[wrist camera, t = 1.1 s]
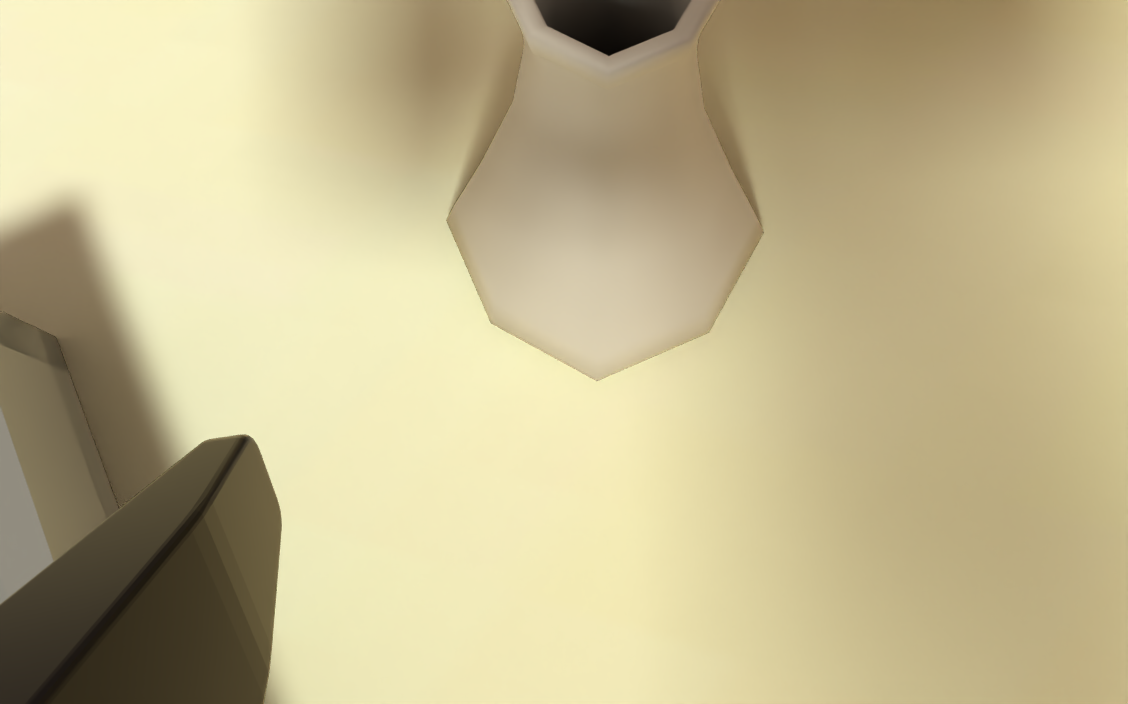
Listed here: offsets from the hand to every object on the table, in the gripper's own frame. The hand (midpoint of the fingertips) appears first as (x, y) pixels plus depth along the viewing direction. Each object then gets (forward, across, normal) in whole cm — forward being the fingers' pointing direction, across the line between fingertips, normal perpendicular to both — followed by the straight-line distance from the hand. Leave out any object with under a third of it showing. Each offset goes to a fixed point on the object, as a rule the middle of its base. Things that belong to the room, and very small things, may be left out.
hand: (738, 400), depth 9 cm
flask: (+14, 0, +4) cm, 15 cm away
